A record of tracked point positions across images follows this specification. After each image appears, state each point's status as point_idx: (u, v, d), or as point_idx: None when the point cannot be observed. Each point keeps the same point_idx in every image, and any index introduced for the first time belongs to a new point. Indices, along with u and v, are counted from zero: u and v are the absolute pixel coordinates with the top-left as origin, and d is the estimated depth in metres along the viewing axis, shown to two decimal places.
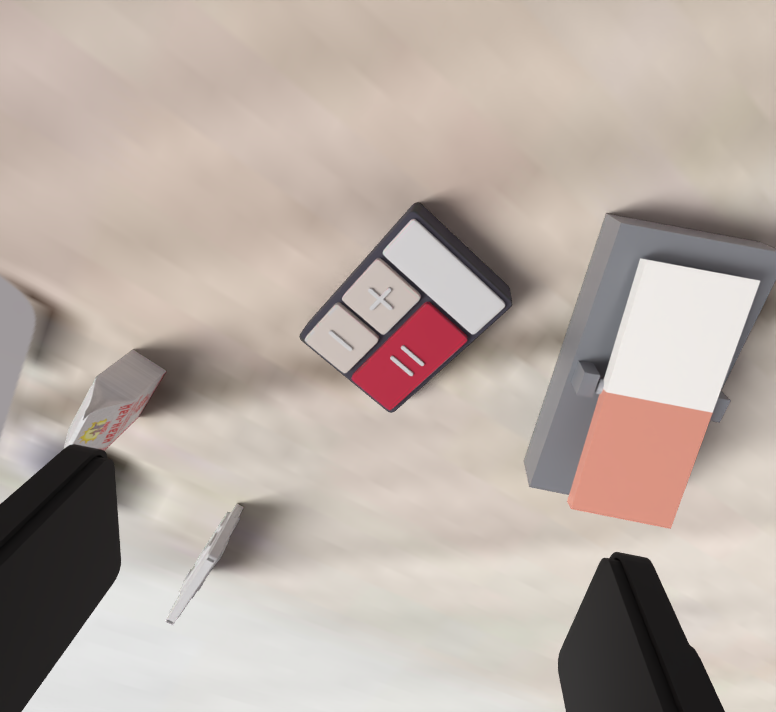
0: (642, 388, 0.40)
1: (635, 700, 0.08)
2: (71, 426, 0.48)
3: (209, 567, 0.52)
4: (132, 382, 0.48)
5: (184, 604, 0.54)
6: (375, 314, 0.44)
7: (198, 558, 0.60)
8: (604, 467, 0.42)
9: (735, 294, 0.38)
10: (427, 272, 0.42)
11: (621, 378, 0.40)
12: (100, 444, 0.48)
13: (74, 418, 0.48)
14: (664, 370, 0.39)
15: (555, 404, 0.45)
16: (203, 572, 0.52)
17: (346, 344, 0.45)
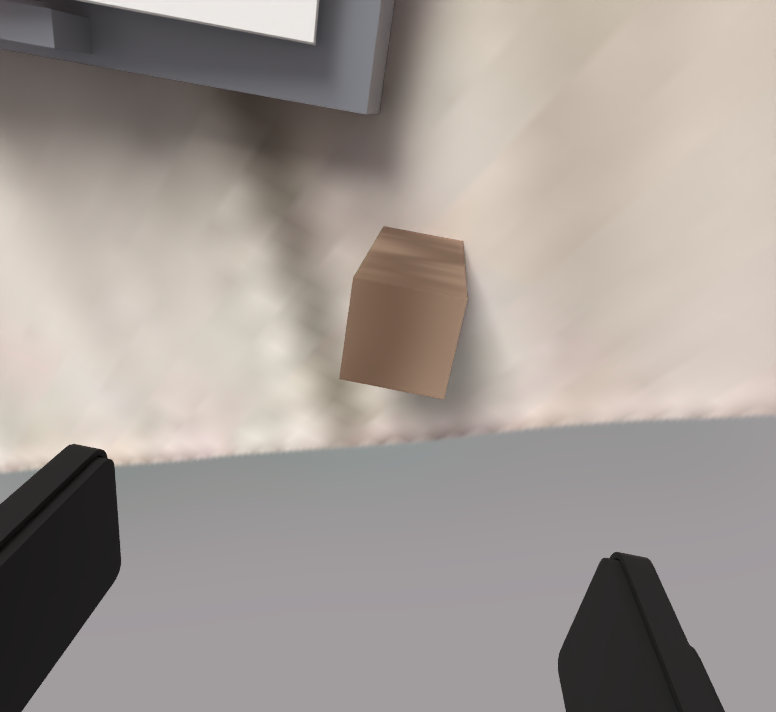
0: None
1: (635, 700, 0.08)
2: None
3: None
4: None
5: None
6: None
7: None
8: None
9: None
10: None
11: None
12: None
13: None
14: None
15: None
16: None
17: None
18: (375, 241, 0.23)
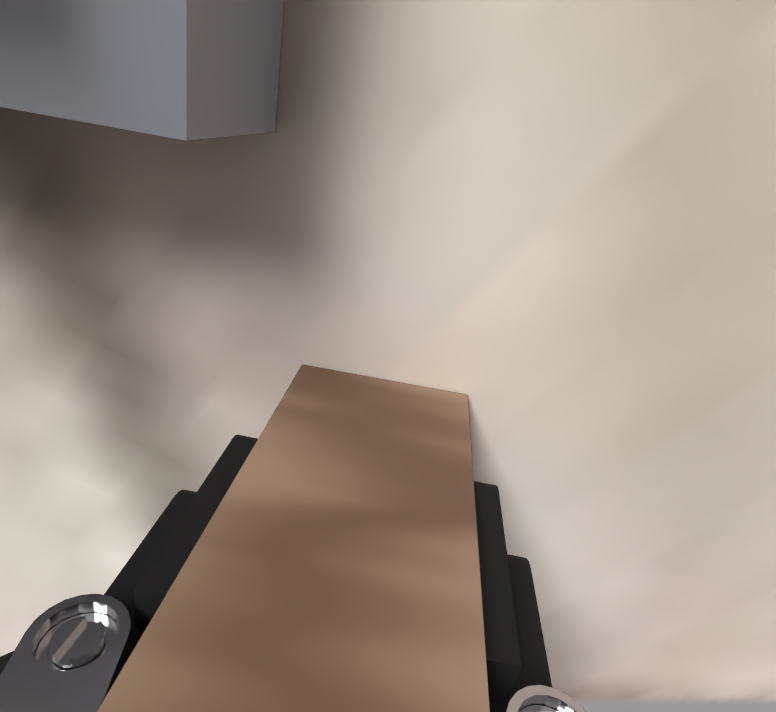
0: None
1: None
2: None
3: None
4: None
5: None
6: None
7: None
8: None
9: None
10: None
11: None
12: None
13: None
14: None
15: None
16: None
17: None
18: (258, 441, 0.10)
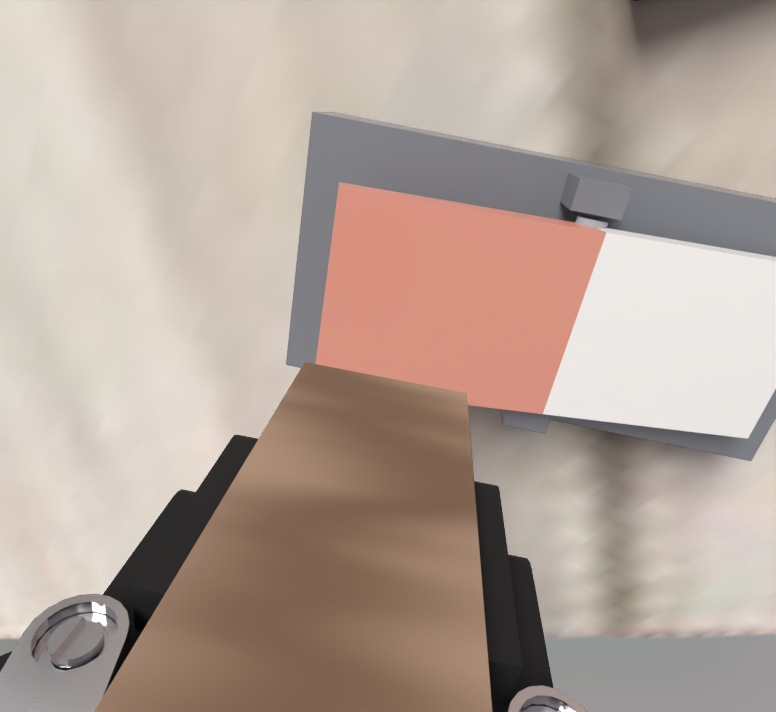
0: (603, 297, 0.21)
1: None
2: None
3: None
4: None
5: None
6: None
7: None
8: (441, 249, 0.20)
9: (736, 411, 0.24)
10: None
11: (631, 257, 0.20)
12: None
13: None
14: (630, 330, 0.22)
15: (509, 149, 0.23)
16: None
17: None
18: (263, 434, 0.10)
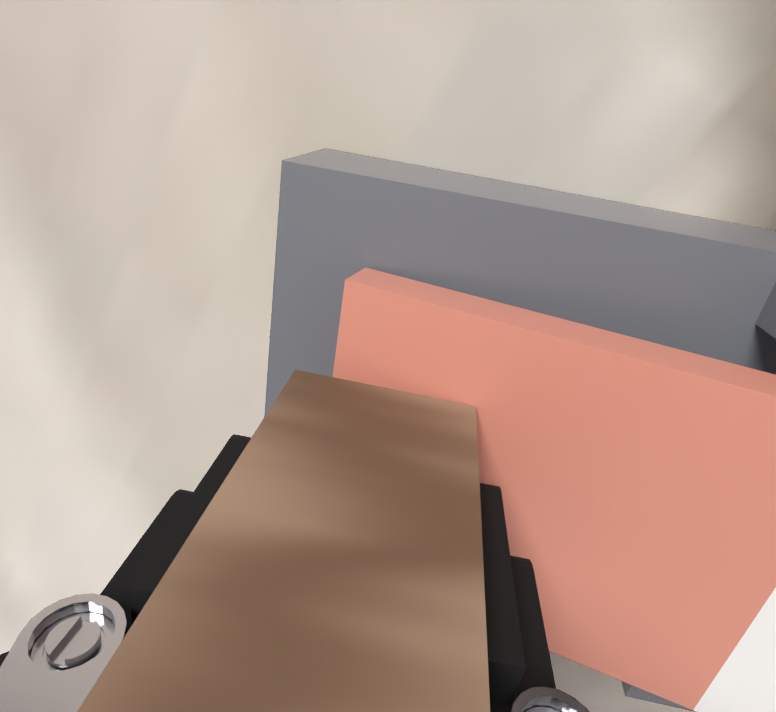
0: None
1: None
2: None
3: None
4: None
5: None
6: None
7: None
8: (512, 399, 0.11)
9: None
10: None
11: None
12: None
13: None
14: None
15: (657, 225, 0.12)
16: None
17: None
18: (238, 461, 0.09)
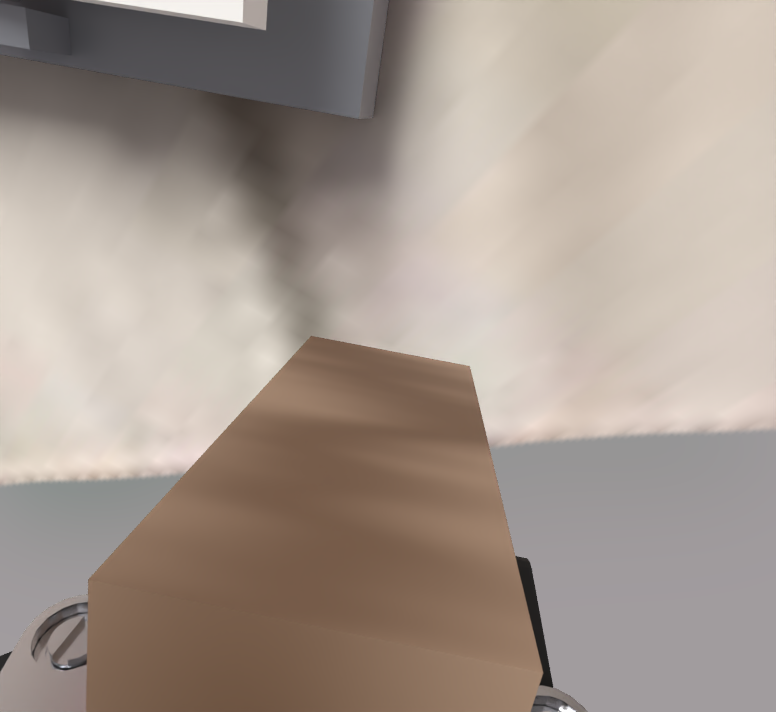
0: None
1: None
2: None
3: None
4: None
5: None
6: None
7: None
8: None
9: None
10: None
11: None
12: None
13: None
14: None
15: None
16: None
17: None
18: (274, 378, 0.10)
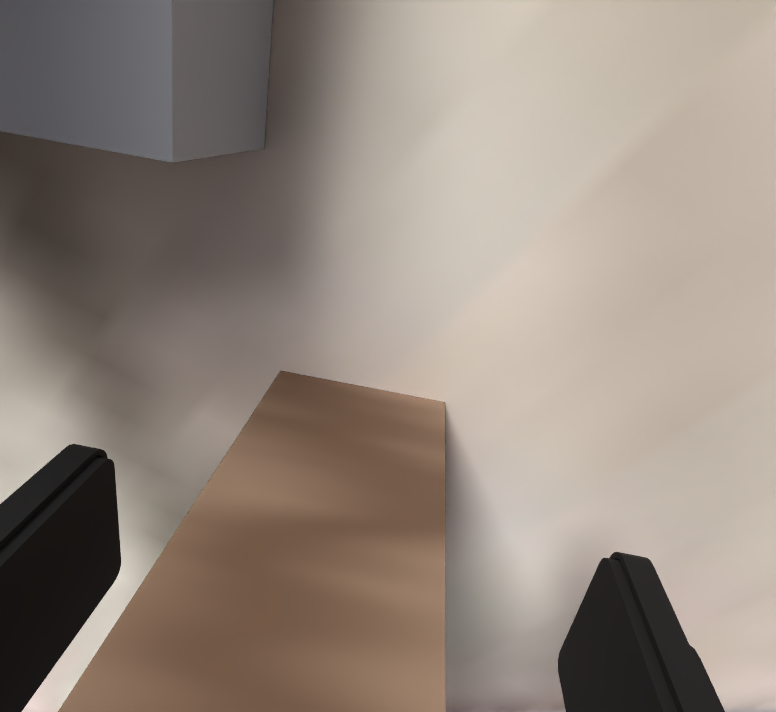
0: None
1: (635, 700, 0.08)
2: None
3: None
4: None
5: None
6: None
7: None
8: None
9: None
10: None
11: None
12: None
13: None
14: None
15: None
16: None
17: None
18: (231, 449, 0.10)
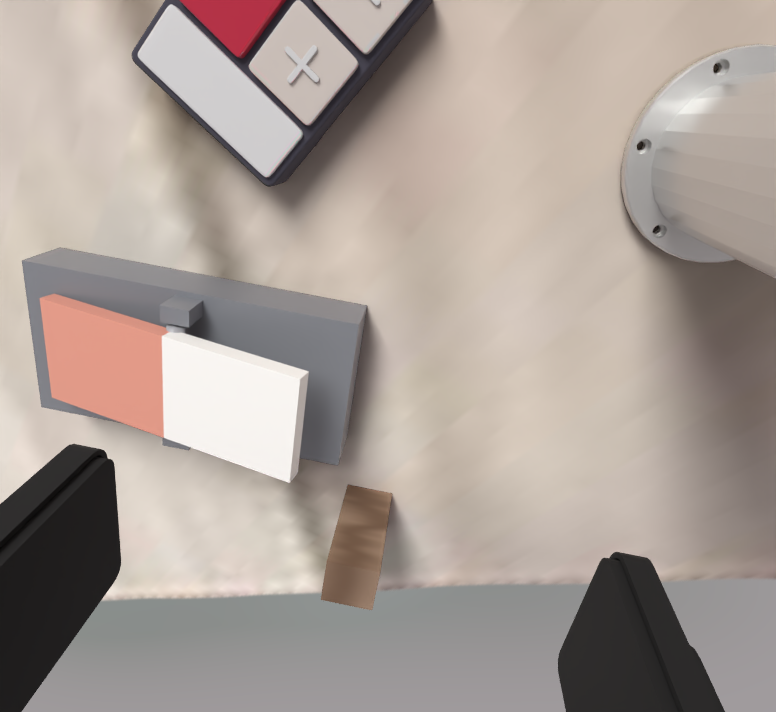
0: (172, 372, 0.36)
1: (635, 700, 0.08)
2: None
3: None
4: None
5: None
6: (310, 37, 0.30)
7: None
8: (88, 334, 0.37)
9: (274, 461, 0.36)
10: (243, 105, 0.32)
11: (178, 351, 0.35)
12: None
13: None
14: (193, 395, 0.36)
15: (143, 280, 0.38)
16: None
17: None
18: (341, 509, 0.44)
